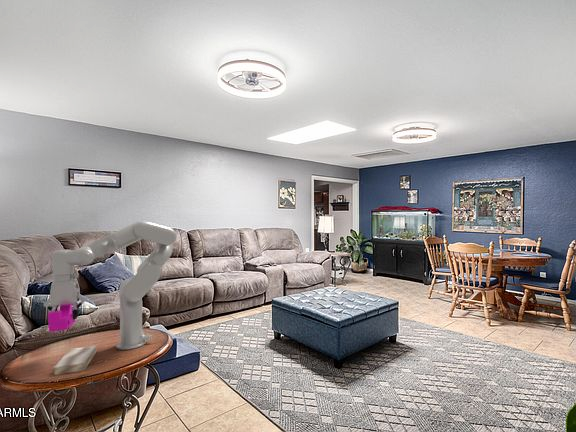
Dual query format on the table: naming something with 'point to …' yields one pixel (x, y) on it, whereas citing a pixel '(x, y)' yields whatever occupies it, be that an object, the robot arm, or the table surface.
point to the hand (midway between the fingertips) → (65, 319)
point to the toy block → (61, 318)
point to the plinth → (75, 360)
